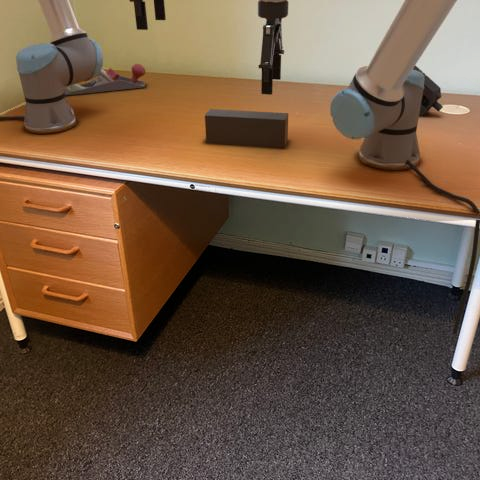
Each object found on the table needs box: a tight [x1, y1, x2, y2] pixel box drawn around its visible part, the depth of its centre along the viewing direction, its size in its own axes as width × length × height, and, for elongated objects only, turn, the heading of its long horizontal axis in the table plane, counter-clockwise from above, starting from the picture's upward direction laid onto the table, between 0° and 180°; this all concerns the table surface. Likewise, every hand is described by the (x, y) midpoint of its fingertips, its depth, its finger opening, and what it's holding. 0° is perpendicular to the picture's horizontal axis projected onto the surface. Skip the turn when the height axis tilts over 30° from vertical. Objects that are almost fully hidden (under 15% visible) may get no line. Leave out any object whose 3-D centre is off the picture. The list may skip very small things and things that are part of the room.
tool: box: [413, 64, 444, 116], centre depth 168 cm, size 6×19×15 cm, turn 51°
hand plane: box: [64, 63, 146, 96], centre depth 194 cm, size 7×31×15 cm, turn 107°
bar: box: [204, 108, 289, 149], centre depth 149 cm, size 22×6×8 cm, turn 77°
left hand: (151, 24), depth 140 cm, fingers open, 13 cm apart
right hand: (271, 86), depth 141 cm, fingers open, 13 cm apart
